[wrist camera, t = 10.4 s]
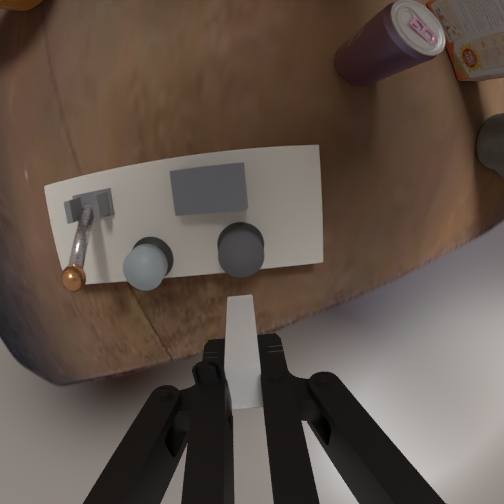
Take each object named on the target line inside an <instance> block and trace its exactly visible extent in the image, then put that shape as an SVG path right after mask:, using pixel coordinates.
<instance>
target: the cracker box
mask: <svg viewBox="0 0 504 504" xmlns="http://www.w3.org/2000/svg"><path fill="white" fill-rule="evenodd" d="M426 4H427V6H428V8H429V10H430V11H431V12H432V13H433V14H434V16H435V17H436V18H437V19H438V21H439V22H440V24H441V26H442V28H443V31H444V34H445V40H446V42H445V45H446V48H447V51H448V53H449V56H450V58H451V61H452V64H453V67H454V70H455V73H456V76H457V79H458V81H484V80H489V79H496V78H503V77H504V0H430V1H428V2H427V3H426Z"/></svg>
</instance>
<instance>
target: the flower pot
mask: <svg viewBox="0 0 504 504" xmlns="http://www.w3.org/2000/svg"><path fill="white" fill-rule="evenodd" d="M42 1H43V0H0V8H1V9H10V10H20V11H27V10H30V9H32V8H34V7H36V6H37V5H38V4H40V3H41V2H42Z"/></svg>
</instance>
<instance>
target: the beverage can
mask: <svg viewBox="0 0 504 504" xmlns="http://www.w3.org/2000/svg"><path fill="white" fill-rule="evenodd" d="M445 42H446V40H445V34H444V31H443V28H442V26H441V24H440V22H439V21H438V19H437V18H436V17H435V16H434V14H433V13H432V12H431V11H430V10H428V9H427V8H426V7H425V6H423V5H422V4H420V3H418V2H416V1H413V0H398V1H396V2H393V3H390V4H389V5H387V6H386V7H385V8H384V9H383V10H381V11H380V12H379V13H378V14H377V15H376V16H374V17H373V18H372V19H371V20H370V21H369V22H368V23H366V24H365V25H364V26H363V27H362V28H361V29H360V30H359V31H357V32H356V33H355V34H354V35H353V36H352V37H351V38H350V39H349V40H348V41H346V42H345V43H344V44H343V45H342V46H341V47H340V48H339V49H338V50H337V52H336V55H335V64H336V68H337V70H338V72H339V73H340V75H341V76H342V77H343V78H344V79H345V80H347V81H348V82H350V83H352V84H354V85H357V86H368V85H371V84H373V83H375V82H377V81H380V80H382V79H384V78H386V77H389V76H391V75H393V74H396V73H398V72H401V71H403V70H406V69H408V68H411V67H413V66H416V65H418V64H421V63H423V62H426V61H429V60H431V59H433V58H435V57H436V56H437V55H438V54H440V53H441V52H442V51H443V50H444V47H445Z"/></svg>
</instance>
